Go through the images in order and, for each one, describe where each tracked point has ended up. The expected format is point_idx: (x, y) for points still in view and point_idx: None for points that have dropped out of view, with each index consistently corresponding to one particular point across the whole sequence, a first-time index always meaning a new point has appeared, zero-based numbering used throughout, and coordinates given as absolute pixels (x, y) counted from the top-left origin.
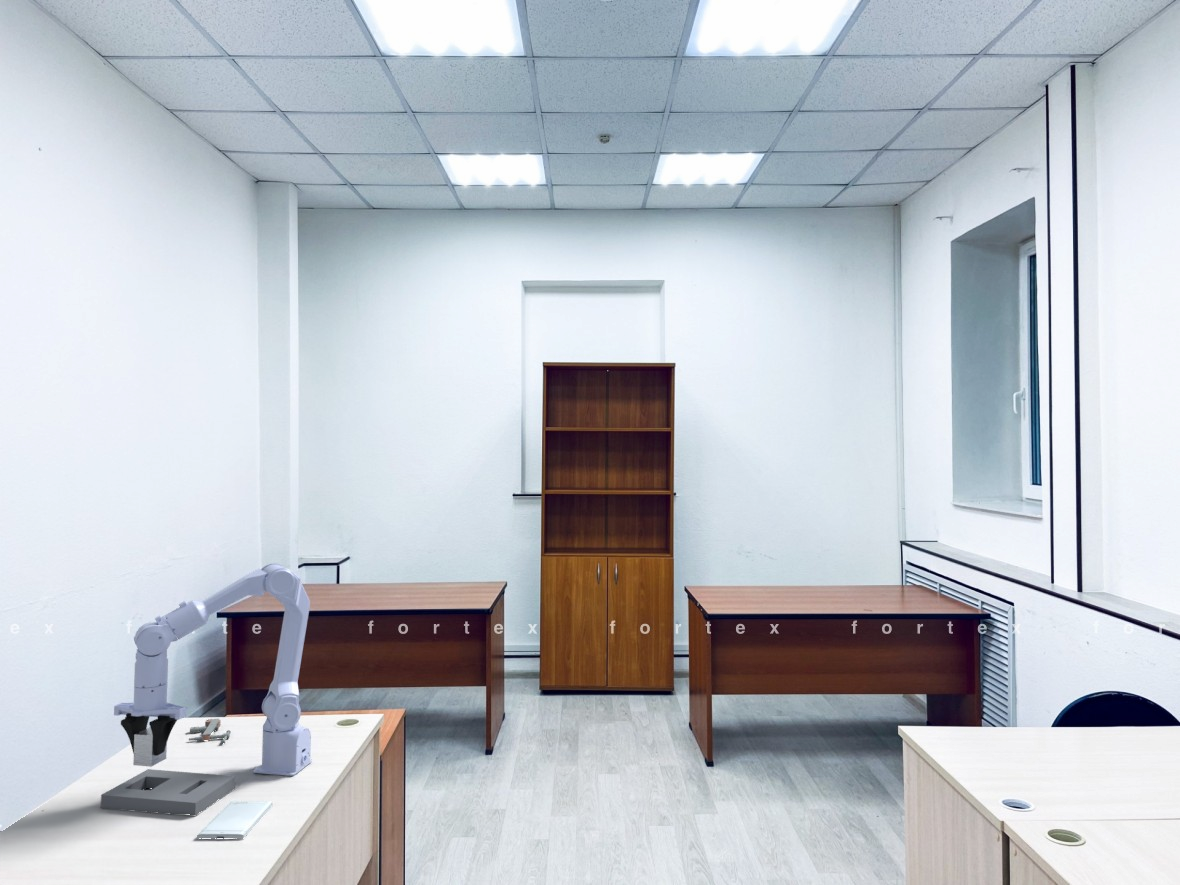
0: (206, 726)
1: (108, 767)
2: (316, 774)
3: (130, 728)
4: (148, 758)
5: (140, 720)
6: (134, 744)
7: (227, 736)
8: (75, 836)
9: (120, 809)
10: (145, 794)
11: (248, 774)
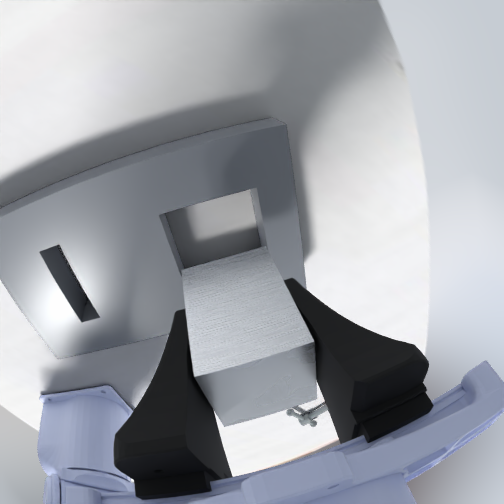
0: None
1: (424, 271)
2: (24, 406)
3: (342, 356)
4: (201, 286)
5: (343, 415)
6: (292, 303)
7: (300, 420)
8: None
9: (202, 133)
10: (143, 190)
11: (113, 379)
